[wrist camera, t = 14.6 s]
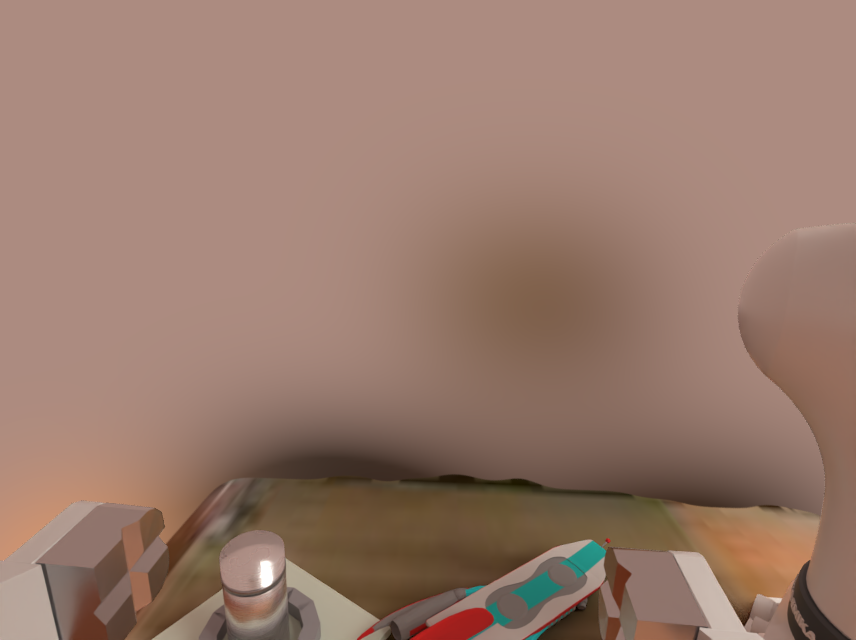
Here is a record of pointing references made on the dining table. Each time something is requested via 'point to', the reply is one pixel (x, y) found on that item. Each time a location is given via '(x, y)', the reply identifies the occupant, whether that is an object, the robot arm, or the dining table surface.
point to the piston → (255, 587)
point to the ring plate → (307, 607)
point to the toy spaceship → (507, 600)
